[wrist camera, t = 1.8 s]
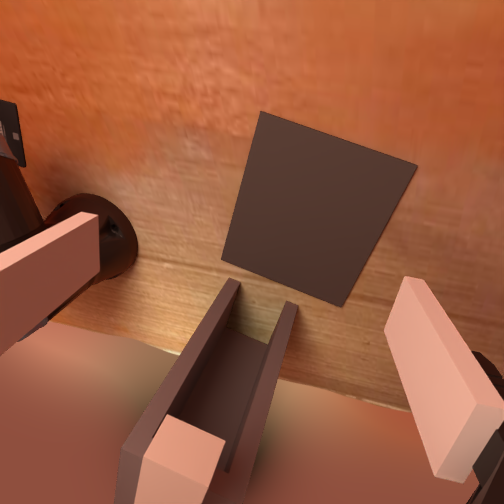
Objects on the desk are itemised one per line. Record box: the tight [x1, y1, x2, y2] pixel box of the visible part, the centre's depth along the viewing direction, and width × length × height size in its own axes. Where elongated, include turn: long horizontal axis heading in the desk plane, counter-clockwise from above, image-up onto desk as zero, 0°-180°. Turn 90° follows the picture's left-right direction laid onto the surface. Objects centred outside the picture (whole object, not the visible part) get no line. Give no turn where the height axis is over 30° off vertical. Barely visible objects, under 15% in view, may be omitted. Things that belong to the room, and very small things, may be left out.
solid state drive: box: [0, 100, 26, 167], centre depth 57 cm, size 7×10×1 cm
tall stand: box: [114, 278, 298, 504], centre depth 47 cm, size 12×12×30 cm
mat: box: [221, 111, 417, 307], centre depth 49 cm, size 20×23×1 cm
